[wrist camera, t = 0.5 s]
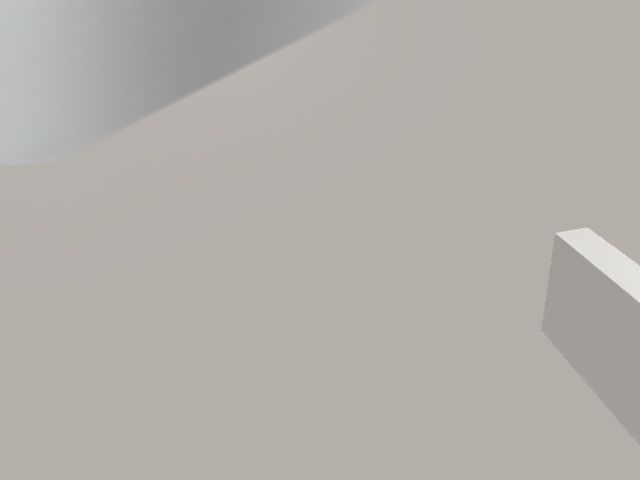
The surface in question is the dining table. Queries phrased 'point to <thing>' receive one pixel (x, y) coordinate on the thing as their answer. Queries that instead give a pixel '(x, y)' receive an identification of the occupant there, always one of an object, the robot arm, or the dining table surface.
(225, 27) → the dining table surface
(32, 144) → the dining table surface
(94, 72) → the dining table surface
